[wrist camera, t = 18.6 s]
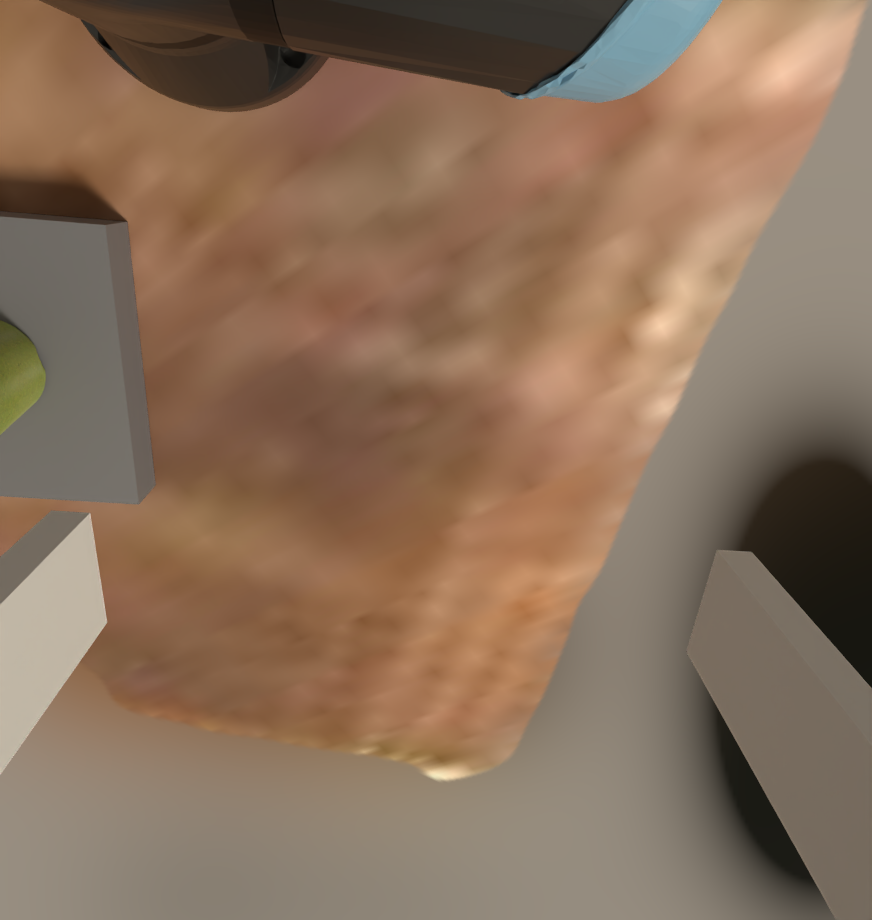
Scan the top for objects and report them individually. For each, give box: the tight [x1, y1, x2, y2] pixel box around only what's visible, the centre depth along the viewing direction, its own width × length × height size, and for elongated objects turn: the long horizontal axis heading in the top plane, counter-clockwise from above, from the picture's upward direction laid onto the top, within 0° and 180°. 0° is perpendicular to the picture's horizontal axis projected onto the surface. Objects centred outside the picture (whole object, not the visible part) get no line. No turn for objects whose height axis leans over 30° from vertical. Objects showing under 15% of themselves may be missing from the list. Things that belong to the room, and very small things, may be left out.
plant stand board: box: [0, 211, 155, 504], centre depth 41 cm, size 18×16×3 cm
